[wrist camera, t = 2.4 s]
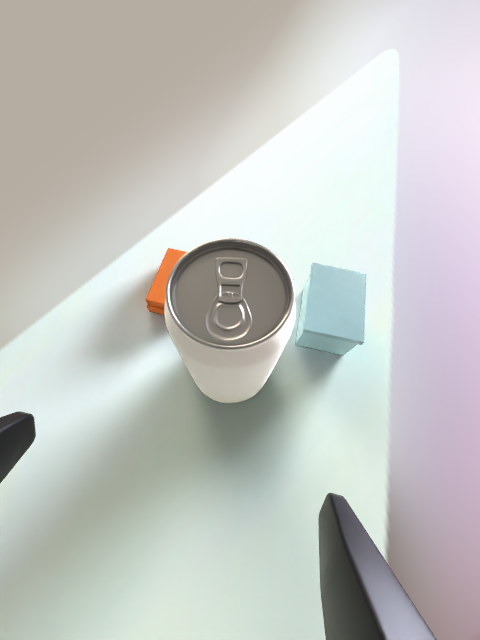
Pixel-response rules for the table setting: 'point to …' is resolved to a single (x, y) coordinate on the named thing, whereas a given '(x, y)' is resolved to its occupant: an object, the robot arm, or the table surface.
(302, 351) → the table surface
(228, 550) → the table surface
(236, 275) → the can
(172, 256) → the orange rectangular block
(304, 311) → the box
